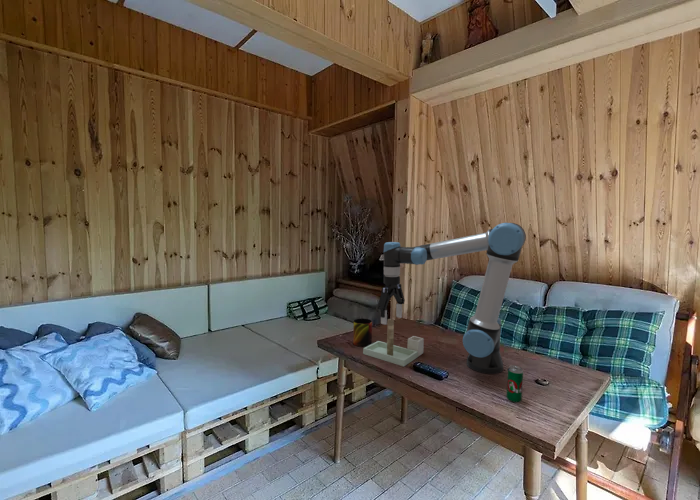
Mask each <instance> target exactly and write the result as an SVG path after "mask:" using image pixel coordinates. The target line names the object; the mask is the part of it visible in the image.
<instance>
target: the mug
mask: <svg viewBox="0 0 700 500" xmlns="http://www.w3.org/2000/svg"><path fill="white" fill-rule="evenodd" d="M352 335H353V336H352V337H353V339H352V343H353V346H355V347H359V348H365V347H367V346H369V345H371V344H373V338H372V337H373V320H371V319H369V318H356V319H354V320H353V334H352Z"/></svg>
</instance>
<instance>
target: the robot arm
mask: <svg viewBox="0 0 700 500" xmlns="http://www.w3.org/2000/svg"><path fill="white" fill-rule="evenodd" d="M525 231H526V230H525V229H524V228H523V227H522V226H521V225H519V224H517V223H515V222H502V223H499V224H497V225H495V226H494V227H493V228H490V229H487V231H486V232H482V233H477V234H473V235H467V236H466V235H465V236H461V237H458V238H453V239H447V240H442V241H437V242H431V243H427V244H422V245H418V246H401V243H400V242H398V241H388V242H385V243H384V244H383V284H384V285H385V287H382V288H381V292H380V297H379V301H378V305H377V310H379V311H380V324H382V325H384V326H385V325H387V321H388V314H387V313H388V310H387V307H388V305H389V301H390V299H391V298H393V297H394V300H395V301H396V304H395V306H396V307H395V308H396V309H395V311H396V312H395V316H396V318H400V319H401V318H403V305H404V304H405V301H406V300H405V296H404V292H403V287H402V283H401V276H400V275H401V264H406V265H416V266H417V265H425V264H426V262H427V261H431V260H436V259H443V258H447V257H454V256H455V257H456V256H460V255H467V254H472V253H477V252H485V251H486V253H485V254H486V256H487V258H488V262H487V267H486V270H485V274H484V278H483V281H482V286H481V290H480V294H479V297H478V301H477V304H476V305H477V306H476V309H475V313H474V315H472V316H471V317H470V318H469V321H468V325H467V328H466V332H465V333H464V334H463V337H462V344H463V345H462V346H463V348H464V349H465V350H466V352H467V353H468V356H467V358H466V366H467V367H468V368H469V369H471V370H473V371H475V372H478V373H482V374H489V375H490V374H491V375H495V374H499V373H502V372H503V370H504V361H503V359H502V356H501V353H500V352H501V351H500V348H501V330H502V320H501V317H499V315H500V312H501V310H502V305H503V302H504V298H505V294H506V291H507V287H508V282H509V279H510V275H511V271H512V269H513V265H514V264H516V263H517V262H519V258H520V256H521V252H522V248H523V246H524V245H525V243H526V241H527V240H526V238H527V234H526V232H525Z"/></svg>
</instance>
